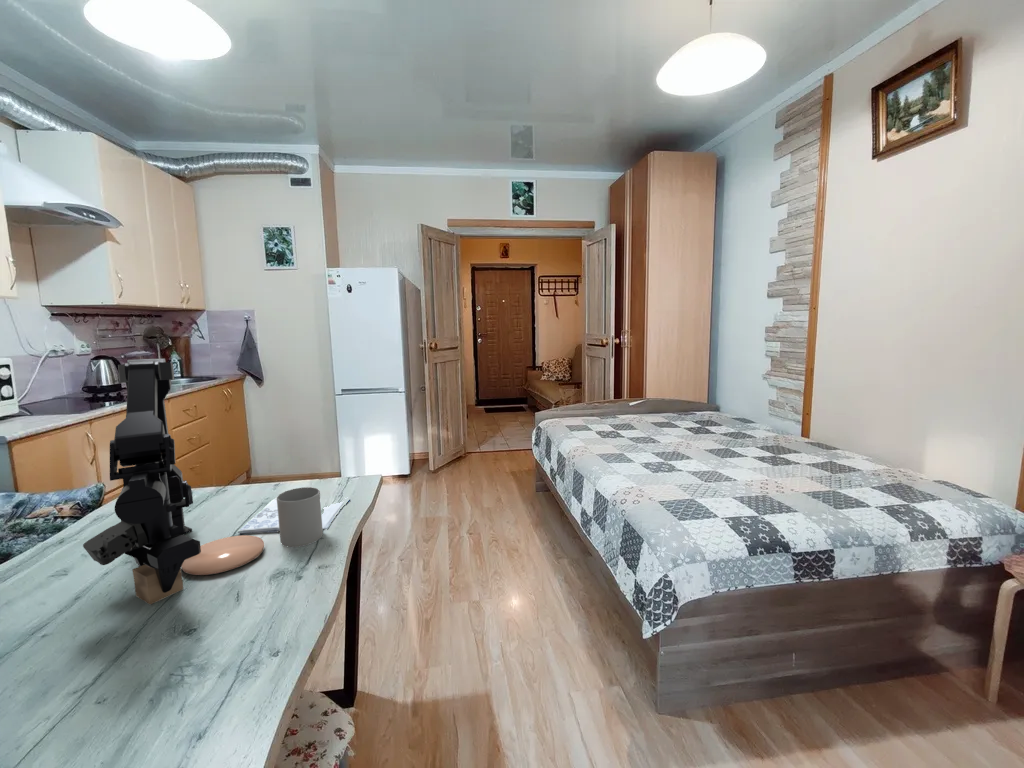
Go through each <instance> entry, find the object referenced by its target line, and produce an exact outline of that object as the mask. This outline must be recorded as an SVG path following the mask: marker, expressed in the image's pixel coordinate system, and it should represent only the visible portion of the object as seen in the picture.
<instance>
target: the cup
mask: <svg viewBox="0 0 1024 768" xmlns="http://www.w3.org/2000/svg"><path fill="white" fill-rule="evenodd" d="M276 499H277V508H278V519H279V530H280V532H279V539H280V540H279V541H280V544H281V543H282V544H281V545H282V546H283V545H284V547H287V546H288V548H299V546H300V547H304V546H308V545H311V544H313V543H316V542H317V541H319V540H320V539H321V538H322V537H323V535H324V532H323V531H324V530H323V529H322V516H321V502H320V499H321V491H320V490H319V488H316V487H312V486H310V487H309V486H307V487H299V488H297V487H296V488H292V489H287V490H285V491H283V492H281V493H279V494H278V495H277V497H276ZM315 541H316V542H315Z"/></svg>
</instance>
